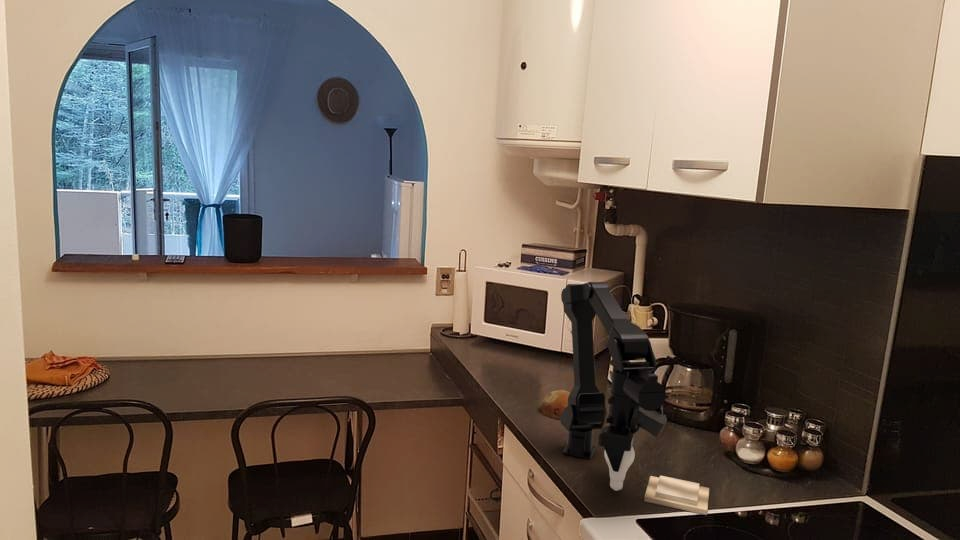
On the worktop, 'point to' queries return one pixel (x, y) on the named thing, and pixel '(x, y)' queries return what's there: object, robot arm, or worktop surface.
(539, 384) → the worktop surface
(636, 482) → the worktop surface
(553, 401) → the bread roll
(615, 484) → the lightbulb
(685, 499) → the base
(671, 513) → the worktop surface
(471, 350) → the worktop surface
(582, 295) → the robot arm
